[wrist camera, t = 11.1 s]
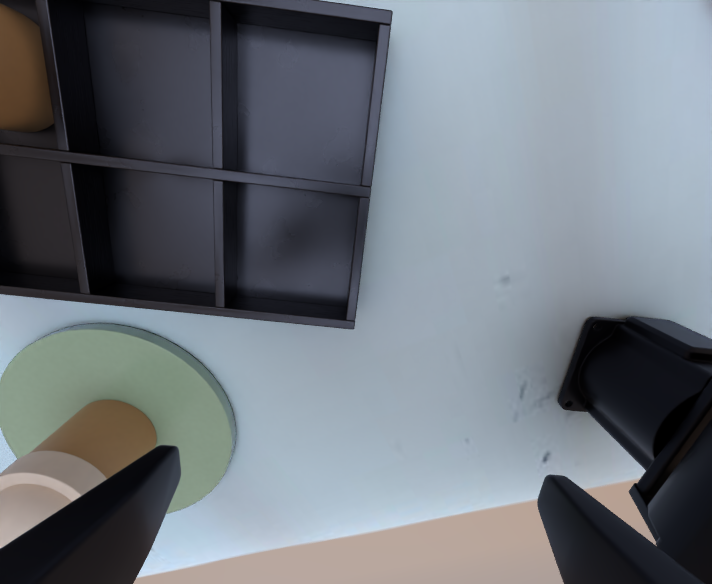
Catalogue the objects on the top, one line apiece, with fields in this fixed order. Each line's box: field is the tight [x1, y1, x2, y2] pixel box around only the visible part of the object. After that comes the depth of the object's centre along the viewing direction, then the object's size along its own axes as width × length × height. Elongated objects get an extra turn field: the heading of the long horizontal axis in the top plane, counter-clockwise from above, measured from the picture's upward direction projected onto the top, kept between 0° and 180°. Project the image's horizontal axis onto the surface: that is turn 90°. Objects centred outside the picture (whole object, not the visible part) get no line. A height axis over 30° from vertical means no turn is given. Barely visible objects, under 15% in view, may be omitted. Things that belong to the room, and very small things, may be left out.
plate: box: [0, 323, 236, 514], centre depth 23 cm, size 15×15×1 cm
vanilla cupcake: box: [0, 400, 157, 548], centre depth 19 cm, size 6×6×8 cm
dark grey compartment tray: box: [0, 0, 393, 329], centre depth 17 cm, size 14×21×2 cm
